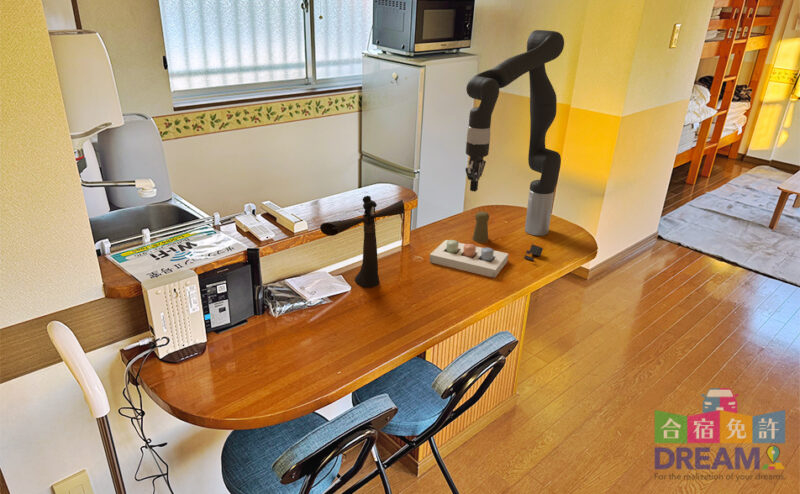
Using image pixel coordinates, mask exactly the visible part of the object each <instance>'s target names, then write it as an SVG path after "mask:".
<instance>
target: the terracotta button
mask: <svg viewBox="0 0 800 494" xmlns="http://www.w3.org/2000/svg"><path fill="white" fill-rule="evenodd" d="M464 244H465V245H464V250H463V255H462V256H465V257H470V258H474V257H475V256H476V255H475V252H476V247H477V246H476V244H473V243H464Z"/></svg>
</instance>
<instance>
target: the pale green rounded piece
mask: <svg viewBox="0 0 800 494" xmlns="http://www.w3.org/2000/svg"><path fill="white" fill-rule="evenodd" d="M458 243H459V241H458V240H454V239H449V241H447V245H446V251H445V252H448V253H452V254H457V253H458V252H459V251H458Z"/></svg>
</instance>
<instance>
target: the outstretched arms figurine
mask: <svg viewBox="0 0 800 494" xmlns="http://www.w3.org/2000/svg"><path fill="white" fill-rule="evenodd" d="M362 202H363V204H362V207H363V209H364V213H363V216H362V217H356V218H349V219H348V218H347V219H342V220H334V221H329V222H323V223H321V224H320V226H319V229H320V231H321V233H322V234H324V235H326V236H329V237H333V236H336V235H338V234H340V233H342V232H344V231H347V230H349V229H351V228H353V227H356V226H357V225H360V224H361V223H363V245H362V250H363V252H362V262H361V263H362V264H361V267H360V270H359V272H358V273H357V274H356V276H354V281H355V282H356V284H357V285H359V286H360V287H363V288H375V287H377V286H379V285H380V283H381V282H380V278H379V264H378V244H377V235H376V230H377V229H376V225H377V224H376V222H377V218H384V217H389V216H390V217H391V216H397V215H403V214H405V202H404V201H403V200H402V199H401V200H399V201H396V202H395V203H393V204H391V205H389V206H387V207H384V208H382V209H381V210H378V211H377V212H376V207H377V204H378V203H377V202H376V201H374V200H373V199H372V198H371V195H364V197H363V198H362Z"/></svg>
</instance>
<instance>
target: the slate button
mask: <svg viewBox="0 0 800 494" xmlns="http://www.w3.org/2000/svg"><path fill="white" fill-rule="evenodd" d="M481 248H482V249H481V258H480V260H483V261H487V262H492V261H493V260H494V259H493V253H494V251H495V250H494V249H493V248H491V247H481Z"/></svg>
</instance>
